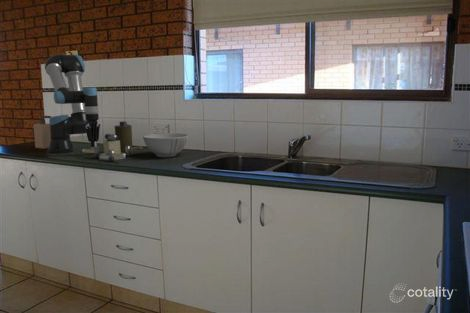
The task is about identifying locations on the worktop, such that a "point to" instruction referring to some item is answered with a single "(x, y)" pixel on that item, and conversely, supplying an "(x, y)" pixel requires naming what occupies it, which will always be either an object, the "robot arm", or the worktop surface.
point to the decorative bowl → (165, 143)
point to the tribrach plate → (111, 147)
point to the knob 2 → (131, 149)
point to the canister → (124, 135)
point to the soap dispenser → (42, 134)
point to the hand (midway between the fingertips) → (94, 152)
